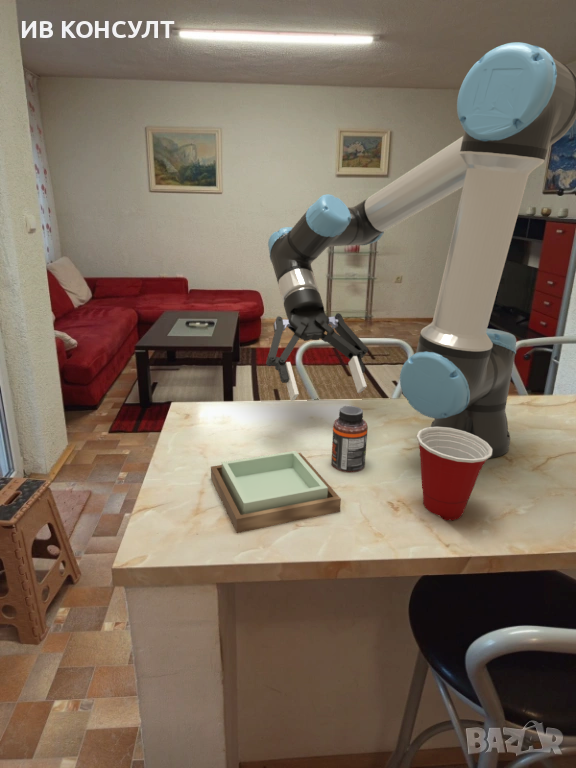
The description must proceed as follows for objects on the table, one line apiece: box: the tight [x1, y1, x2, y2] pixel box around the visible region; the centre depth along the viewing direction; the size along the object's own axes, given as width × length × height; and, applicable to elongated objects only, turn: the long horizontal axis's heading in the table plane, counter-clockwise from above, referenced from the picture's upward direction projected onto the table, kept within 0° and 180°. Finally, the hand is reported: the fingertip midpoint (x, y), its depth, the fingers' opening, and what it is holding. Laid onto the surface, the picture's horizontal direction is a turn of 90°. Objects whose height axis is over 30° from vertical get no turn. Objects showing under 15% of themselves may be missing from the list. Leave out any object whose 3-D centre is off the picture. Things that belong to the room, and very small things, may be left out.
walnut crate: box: [210, 452, 342, 534], centre depth 81 cm, size 16×16×3 cm
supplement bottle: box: [330, 405, 369, 473], centre depth 89 cm, size 6×6×11 cm
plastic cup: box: [416, 426, 492, 521], centre depth 77 cm, size 11×11×12 cm
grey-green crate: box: [221, 450, 328, 515], centre depth 81 cm, size 13×13×4 cm
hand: (329, 393), depth 94 cm, fingers open, 13 cm apart
